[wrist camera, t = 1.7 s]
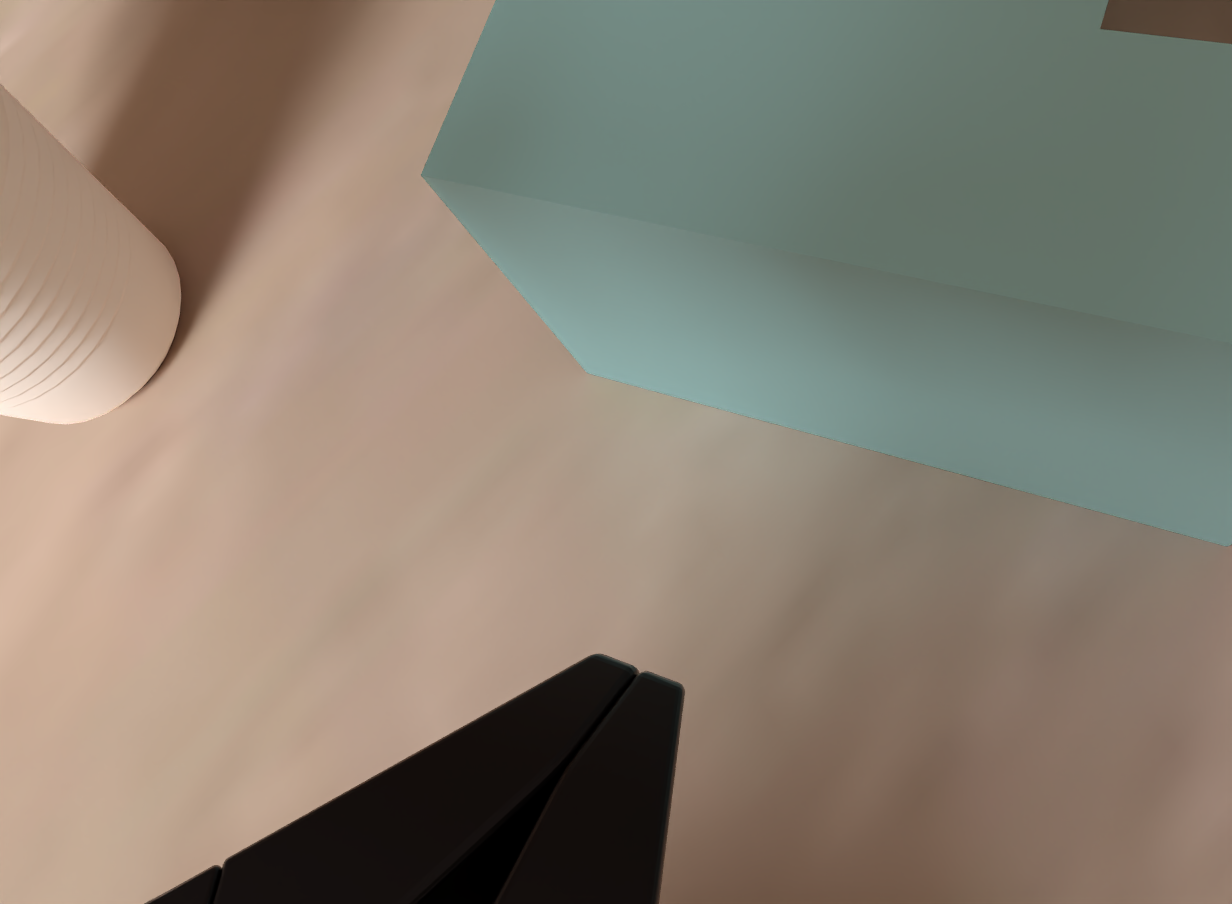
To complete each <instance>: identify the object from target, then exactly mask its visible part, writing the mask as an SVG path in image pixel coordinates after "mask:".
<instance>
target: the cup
mask: <svg viewBox="0 0 1232 904" xmlns="http://www.w3.org/2000/svg"><path fill="white" fill-rule="evenodd" d="M180 305H181V287H180V277H179V274H178V271H177V268H176V265H175V262H174V260H173V258H172V257H171V255H170V253H169V252H168V250H167V248H166V247H165V246H164V245H163V244H162V243H161V242H160V241H159V240H158V239H157V238H156V237H155V236H154V235H153V234H152V233H151V232H150V231H149V230H148V229H147V228H146V227H145V226H144V225H143V224H142V223H141V222H140V221H139V220H138V219H137V218H136V217H135V216H134V215H133V214H132V213H131V212H130V211H129V210H128V209H127V208H126V207H125V206H124V205H123V204H122V203H121V202H120V201H119V200H118V199H116V198H115V197H114V196H113V194H111V193H110V192H109V191H108V190H107V189H106V188H105V187H104V186H103V185H102V184H101V183H100V182H99V181H98V180H97V179H96V178H95V177H94V176H93V175H92V174H91V173H90V172H89V171H88V170H87V169H86V168H85V167H84V166H83V165H82V164H81V163H80V162H79V161H78V160H77V159H76V158H75V157H74V156H73V155H72V154H71V153H70V152H69V151H68V150H67V149H66V148H65V147H64V146H63V145H62V144H61V143H60V142H59V141H58V140H57V139H56V138H55V137H54V136H53V135H52V134H50V133H49V131H48V130H47V129H46V128H45V127H44V126H43V125H42V124H41V123H40V122H38V121H37V120H36V119H35V117H34V116H33V115H32V114H31V113H30V112H29V111H27V110H26V109H25V108H24V107H23V106H22V105H21V104H20V102H19V101H18V100H17V99H16V98H14V97H13V96H12V95H11V94H10V93H9V92H8V91H7V90H6V89H5V88H4V86H3V85H1V84H0V415H5V416H11V417H17V418H23V419H29V420H35V421H41V422H47V423H57V424H72V423H79V422H85V421H89V420H91V419H94V418H97V417H99V416H102V415H105V414H106V413H108V412H110V411H112V410H113V409H115V408H117V407H118V406H120V405H122V404H123V403H124V402H125V401H127V400H128V399H129V398H130V397H131V396H133V395H134V394H135V393H136V392H137V391H139V390H140V389H141V388H142V387H143V386H144V385H145V384H146V383H147V382H148V380H149V379H150V378H151V377H152V376H153V375H154V374H155V372H156V371H157V369H158V368H159V366H160V365H161V363H162V362H163V360H164V358H165V357H166V355H167V353H168V350H169V348H170V346H171V344H172V342H173V339H174V336H175V332H176V328H177V325H178V320H179V316H180Z"/></svg>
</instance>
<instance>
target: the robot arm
mask: <svg viewBox="0 0 1232 904" xmlns="http://www.w3.org/2000/svg"><path fill="white" fill-rule="evenodd" d="M684 696H685V689H684V687H683V686H682V684H680V683H678V682H675V681H673V680H670V679H667V678H665V677H662V676H659V675H657V674H654V673H651V672H648V671H644V672H641V673H639V671H638V669H637V668H635V667H634V666H633V665H630V664H628V663H625V662H622V661H620V660H617V659H614V658H612V657H609V656H606V655H603V654H594V655H590V656H588V657H586V658H585V659H583V660H581V661H579V662H577V663H576V664H574V665H572V666H570V667H568V668H567V669H565V670H563V671H561V672H560V673H558V674H556V675H554V676H552V677H551V678H549V679H547V680H545V681H543V682H542V683H540V684H538V685H536V686H535V687H533V688H531V689H529V690H527V691H526V692H524V693H522V694H520V695H518V696H517V697H515V698H513V699H511V700H509V701H508V702H506V703H504V704H502V705H501V706H499V707H497V708H495V709H493V710H492V711H490V712H488V713H486V714H484V715H483V716H481V717H479V718H477V719H476V720H474V721H472V722H470V723H468V724H467V725H465V726H463V727H461V728H459V729H458V730H456V731H454V732H452V733H450V734H449V735H447V736H445V737H443V738H442V739H440V740H438V741H436V742H434V743H433V744H431V745H429V746H427V747H425V748H424V749H422V750H420V751H418V752H417V753H415V754H413V755H411V756H409V757H408V758H406V759H404V760H402V761H400V762H399V763H397V764H395V765H393V766H391V767H390V768H388V769H386V770H384V771H383V772H381V773H379V774H377V775H375V776H374V777H372V778H370V779H368V780H366V781H365V782H363V783H361V784H359V785H358V786H356V787H354V788H352V789H350V790H349V791H347V792H345V793H343V794H341V795H340V796H338V797H336V798H334V799H332V800H331V801H329V802H327V803H325V804H324V805H322V806H320V807H318V808H316V809H315V810H313V811H311V812H309V813H307V814H306V815H304V816H302V817H300V818H299V819H297V820H295V821H293V822H291V823H290V824H288V825H286V826H284V827H282V828H281V829H279V830H277V831H275V832H273V833H272V834H270V835H268V836H266V837H265V838H263V839H261V840H259V841H257V842H256V843H254V844H252V845H250V846H248V847H247V848H245V849H243V850H241V851H240V852H238V853H236V854H234V855H232V856H231V857H229V858H227V859H226V860H225V862H224V864H223V867H222V868H221V867H220V866H218V865H214V866H212V867H210V868H208V869H207V870H205V871H203V872H201V873H199V874H198V875H196V876H194V877H192V878H190V879H189V880H187V881H185V882H183V883H182V884H180V885H178V886H176V887H174V888H173V889H171V890H169V891H167V892H165V893H163V894H162V895H160V896H158V897H156V898H154V899H152V900H150V901H148V902H147V903H145V904H659V898H660V890H661V882H662V874H663V866H664V858H665V849H666V841H667V833H668V825H669V817H670V809H671V801H672V793H673V785H674V777H675V768H676V760H677V752H678V744H679V736H680V728H681V720H682V712H683V704H684Z"/></svg>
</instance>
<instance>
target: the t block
mask: <svg viewBox="0 0 1232 904" xmlns="http://www.w3.org/2000/svg"><path fill="white" fill-rule="evenodd" d="M1108 1H1109V0H496V1H495V3H494V6H493V8H492V10H491V13H490V15H489V17H488V20H487V22H486V24H485V27H484V29H483V31H482V34H481V36H480V38H479V41H478V43H477V45H476V48H475V50H474V52H473V55H472V57H471V59H470V62H469V64H468V66H467V69H466V71H465V73H464V76H463V78H462V80H461V83H460V85H459V87H458V90H457V92H456V94H455V97H454V99H453V101H452V104H451V106H450V108H449V111H448V113H447V115H446V118H445V120H444V122H443V125H442V127H441V129H440V132H439V134H438V136H437V139H436V141H435V143H434V146H433V148H432V150H431V153H430V155H429V157H428V160H427V162H426V164H425V167H424V169H423V171H422V174H421V176H422V177H423V178H424V179H425V181H426V182H427V183H428V184H429V185H430V187H431V188H432V189H433V190H434V191H435V193H436V194H437V195H438V196H439V197H440V199H441V200H442V201H443V202H444V203H445V204H446V206H447V207H448V208H449V209H450V210H451V212H452V213H453V214H454V215H455V216H456V218H457V219H458V220H459V221H460V222H461V224H462V225H463V226H464V227H465V228H466V229H467V231H468V232H469V233H470V234H471V235H472V237H473V238H474V239H475V240H476V241H477V243H478V244H479V245H480V246H481V247H482V249H483V250H484V251H485V252H486V253H487V254H488V256H489V257H490V258H491V259H492V260H493V262H494V263H495V264H496V265H497V266H498V268H499V269H500V270H501V271H502V272H503V274H504V275H505V276H506V277H507V278H508V279H509V281H510V282H511V283H512V284H513V285H514V287H515V288H516V289H517V290H518V291H519V293H520V294H521V295H522V296H523V297H524V299H525V300H526V301H527V302H528V303H529V304H530V306H531V307H532V308H533V309H534V310H535V312H536V313H537V314H538V315H539V316H540V318H541V319H542V320H543V321H544V322H545V324H546V325H547V326H548V327H549V328H550V329H551V331H552V332H553V333H554V334H555V335H556V337H557V338H558V339H559V340H560V341H561V343H562V344H563V345H564V346H565V347H566V349H567V350H568V351H569V352H570V353H571V354H572V356H573V357H574V358H575V359H576V360H577V362H578V363H579V364H580V365H581V366H582V368H583V369H584V370H585V371H586V372H587V373H589V374H593V375H596V376H600V377H604V378H607V379H611V380H615V381H618V382H622V383H626V384H629V385H633V386H637V387H640V388H644V389H648V390H651V391H655V392H659V393H663V394H666V395H670V396H674V397H677V398H681V399H685V400H688V401H692V402H696V403H699V404H703V405H707V406H710V407H714V408H718V409H722V410H725V411H729V412H733V413H736V414H740V415H744V416H747V417H751V418H755V419H758V420H762V421H766V422H769V423H773V424H777V425H781V426H784V427H788V428H792V429H795V430H799V431H803V432H806V433H810V434H814V435H817V436H821V437H825V438H828V439H832V440H836V441H839V442H843V443H847V444H851V445H854V446H858V447H862V448H865V449H869V450H873V451H876V452H880V453H884V454H887V455H891V456H895V457H898V458H902V459H906V460H910V461H913V462H917V463H921V464H924V465H928V466H932V467H935V468H939V469H943V470H946V471H950V472H954V473H957V474H961V475H965V476H969V477H972V478H976V479H980V480H983V481H987V482H991V483H994V484H998V485H1002V486H1005V487H1009V488H1013V489H1016V490H1020V491H1024V492H1028V493H1031V494H1035V495H1039V496H1042V497H1046V498H1050V499H1053V500H1057V501H1061V502H1064V503H1068V504H1072V505H1075V506H1079V507H1083V508H1086V509H1090V510H1094V511H1098V512H1101V513H1105V514H1109V515H1112V516H1116V517H1120V518H1123V519H1127V520H1131V521H1134V522H1138V523H1142V524H1145V525H1149V526H1153V527H1157V528H1160V529H1164V530H1168V531H1171V532H1175V533H1179V534H1182V535H1186V536H1190V537H1193V538H1197V539H1201V540H1204V541H1208V542H1212V543H1216V544H1219V545H1223V546H1229V545H1231V544H1232V44H1227V43H1218V42H1210V41H1201V40H1192V39H1183V38H1175V37H1166V36H1157V35H1148V34H1140V33H1131V32H1122V31H1113V30H1105V29H1100V28H1101V24H1102V21H1103V17H1104V14H1105V11H1106V7H1107V4H1108Z"/></svg>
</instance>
